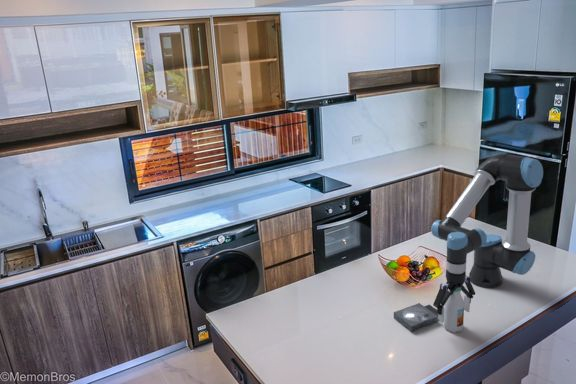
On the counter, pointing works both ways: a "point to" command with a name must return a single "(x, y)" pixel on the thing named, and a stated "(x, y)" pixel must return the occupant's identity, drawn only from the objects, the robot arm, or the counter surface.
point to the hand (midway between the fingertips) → (453, 315)
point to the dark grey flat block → (416, 316)
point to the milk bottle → (454, 312)
